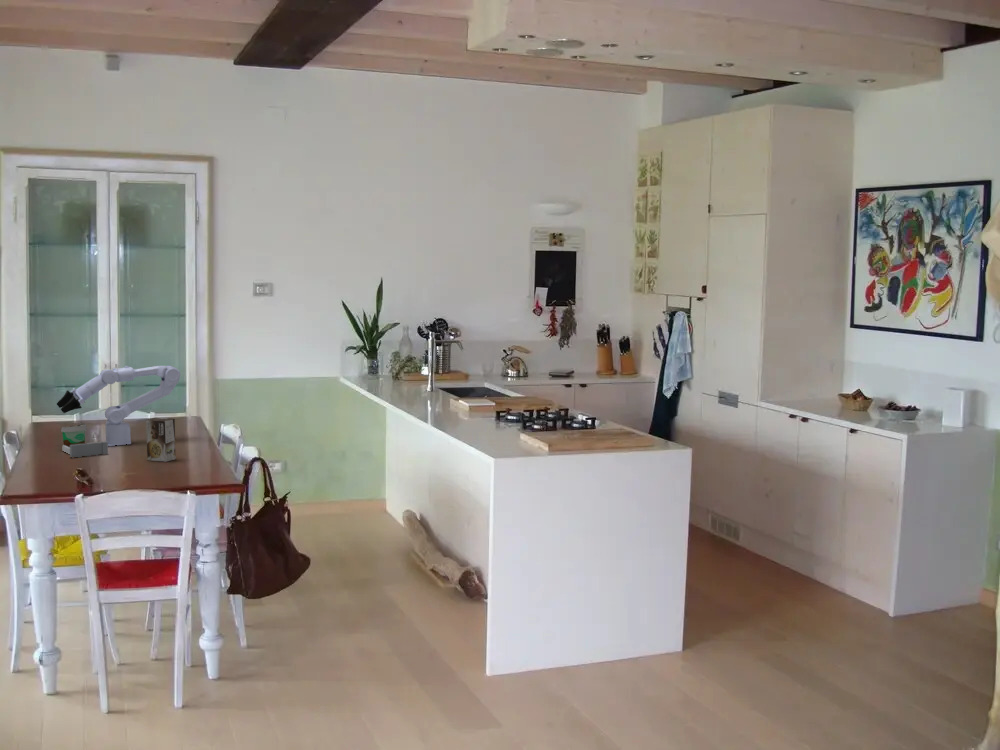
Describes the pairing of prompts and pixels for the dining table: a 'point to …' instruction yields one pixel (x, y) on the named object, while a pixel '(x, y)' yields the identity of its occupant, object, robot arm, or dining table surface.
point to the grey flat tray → (86, 449)
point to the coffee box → (160, 439)
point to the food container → (74, 434)
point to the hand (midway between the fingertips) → (59, 408)
